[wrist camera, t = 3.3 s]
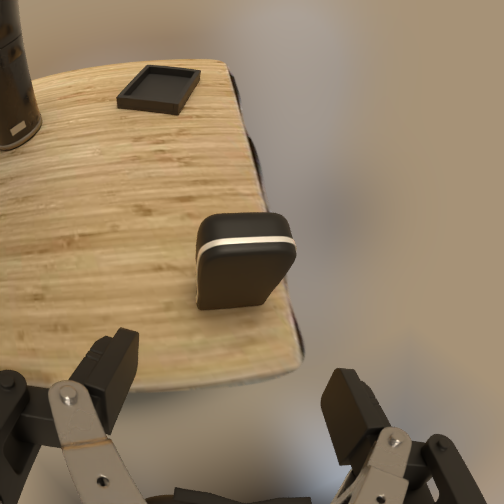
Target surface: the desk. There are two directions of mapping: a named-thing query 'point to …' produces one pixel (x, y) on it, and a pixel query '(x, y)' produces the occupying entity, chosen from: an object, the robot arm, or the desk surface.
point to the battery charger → (241, 258)
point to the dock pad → (159, 89)
